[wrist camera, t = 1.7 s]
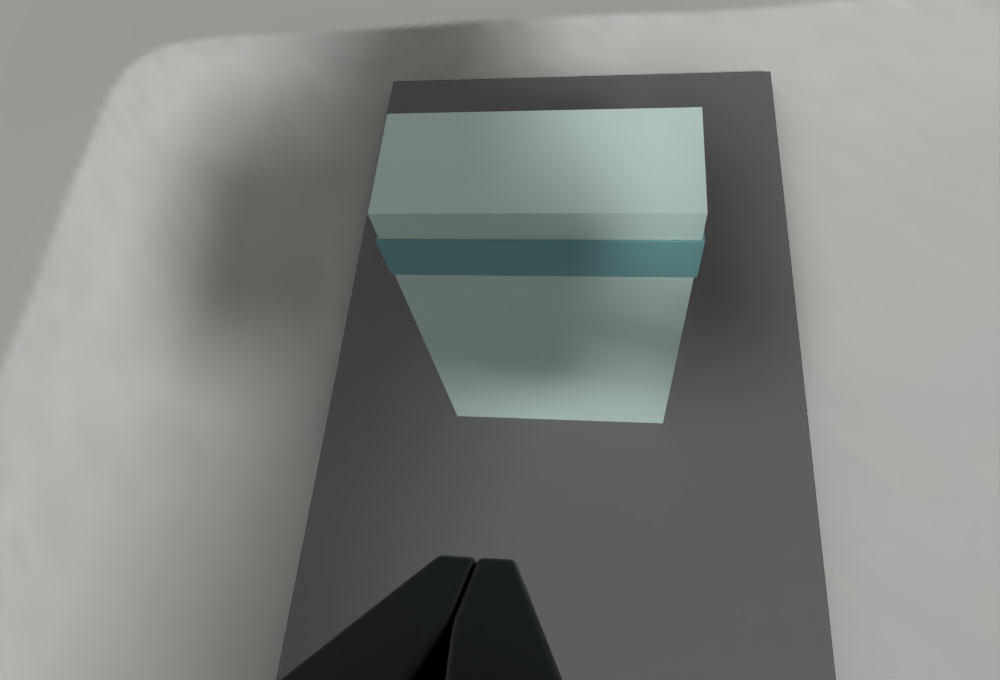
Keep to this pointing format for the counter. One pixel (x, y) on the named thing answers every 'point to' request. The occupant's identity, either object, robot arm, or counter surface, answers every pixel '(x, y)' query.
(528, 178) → the carton
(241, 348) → the counter surface
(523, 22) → the counter surface
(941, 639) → the counter surface
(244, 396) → the counter surface
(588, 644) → the mat
